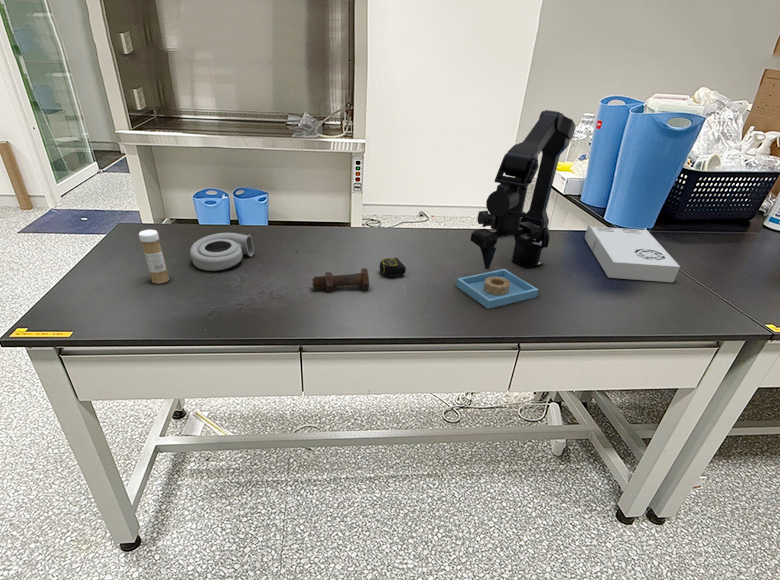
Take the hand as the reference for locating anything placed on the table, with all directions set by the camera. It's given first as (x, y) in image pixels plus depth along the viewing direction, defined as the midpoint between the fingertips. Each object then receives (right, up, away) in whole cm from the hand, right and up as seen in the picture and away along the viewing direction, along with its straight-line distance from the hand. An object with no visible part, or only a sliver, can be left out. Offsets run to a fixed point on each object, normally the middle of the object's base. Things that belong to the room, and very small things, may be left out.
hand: (500, 266), depth 133 cm
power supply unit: (+46, +9, +27) cm, 54 cm away
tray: (0, -6, +5) cm, 8 cm away
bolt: (-43, -6, +3) cm, 44 cm away
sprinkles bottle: (-92, -3, +3) cm, 92 cm away
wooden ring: (0, -5, +4) cm, 7 cm away
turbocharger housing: (-80, +5, +15) cm, 81 cm away
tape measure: (-29, +1, +12) cm, 31 cm away
